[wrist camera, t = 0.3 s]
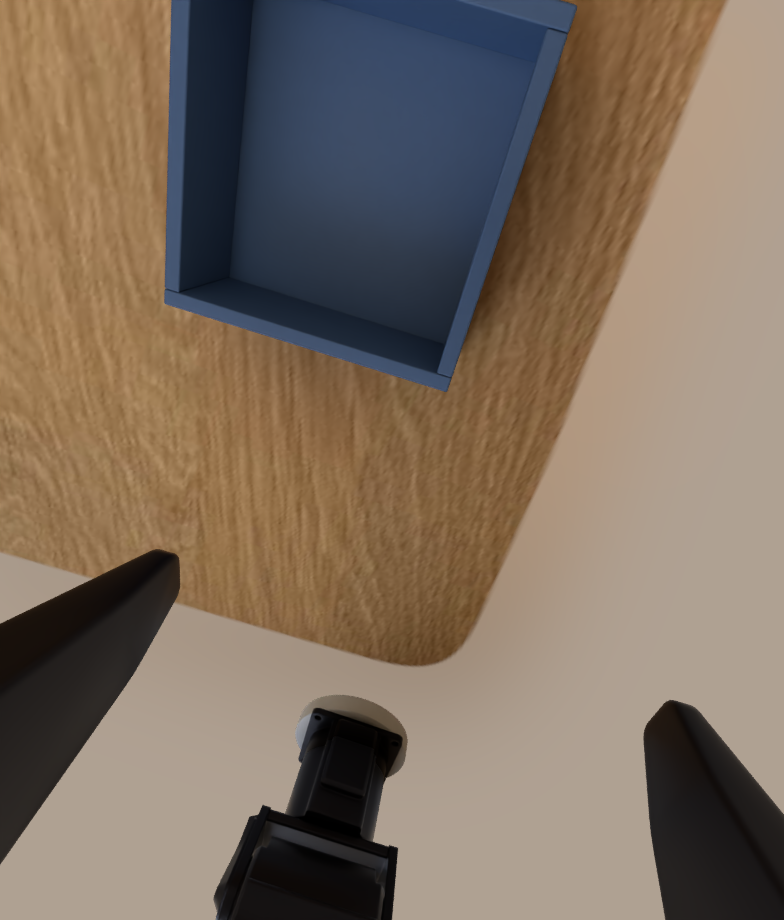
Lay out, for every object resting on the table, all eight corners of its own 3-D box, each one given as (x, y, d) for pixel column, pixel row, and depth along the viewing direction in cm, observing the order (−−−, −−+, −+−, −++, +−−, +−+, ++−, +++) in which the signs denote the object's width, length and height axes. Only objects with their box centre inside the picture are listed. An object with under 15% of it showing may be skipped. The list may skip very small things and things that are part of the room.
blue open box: (454, 357, 19) (446, 392, 16) (222, 284, 19) (163, 304, 16) (557, 51, 14) (578, 4, 11) (248, -39, 15) (173, -112, 11)
